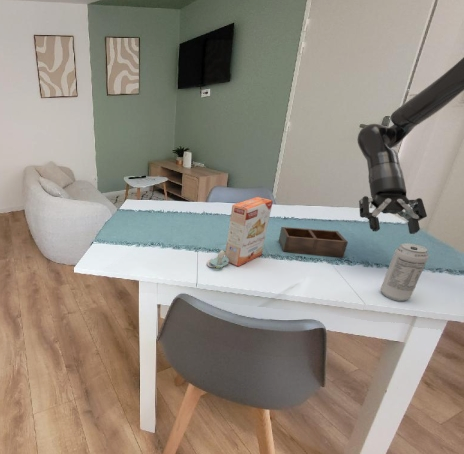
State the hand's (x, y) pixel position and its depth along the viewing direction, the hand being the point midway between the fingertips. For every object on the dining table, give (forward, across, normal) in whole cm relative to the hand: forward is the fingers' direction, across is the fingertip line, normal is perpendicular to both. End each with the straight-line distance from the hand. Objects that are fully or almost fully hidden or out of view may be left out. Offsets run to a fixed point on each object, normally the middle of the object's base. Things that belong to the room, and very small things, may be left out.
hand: (394, 231), depth 82 cm
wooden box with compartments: (-1, -13, +23) cm, 27 cm away
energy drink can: (+17, 0, +5) cm, 18 cm away
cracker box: (+8, -36, +14) cm, 40 cm away
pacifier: (+13, -46, +10) cm, 48 cm away
